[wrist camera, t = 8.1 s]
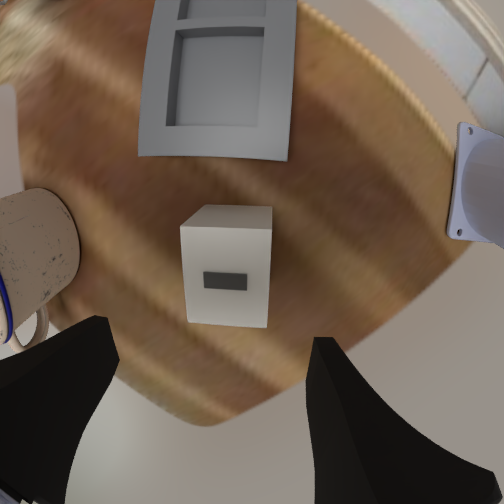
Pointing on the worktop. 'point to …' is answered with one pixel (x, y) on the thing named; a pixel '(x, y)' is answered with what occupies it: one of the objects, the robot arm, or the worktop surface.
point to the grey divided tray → (218, 79)
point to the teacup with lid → (33, 260)
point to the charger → (227, 265)
